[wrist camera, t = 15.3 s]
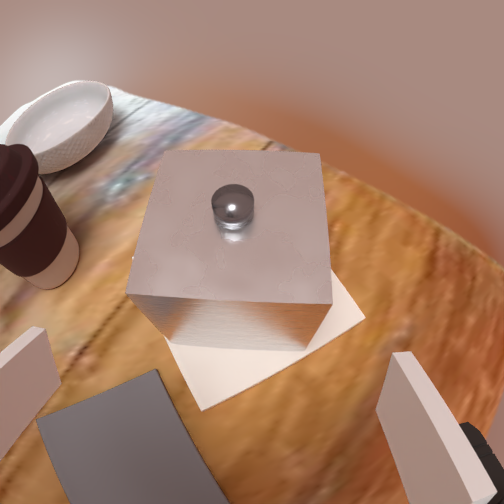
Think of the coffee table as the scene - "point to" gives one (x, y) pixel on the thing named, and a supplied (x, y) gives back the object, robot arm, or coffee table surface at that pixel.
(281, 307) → the metal cover
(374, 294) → the coffee table surface
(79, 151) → the cereal bowl
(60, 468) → the rubber mat
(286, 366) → the serving board
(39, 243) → the coffee cup
